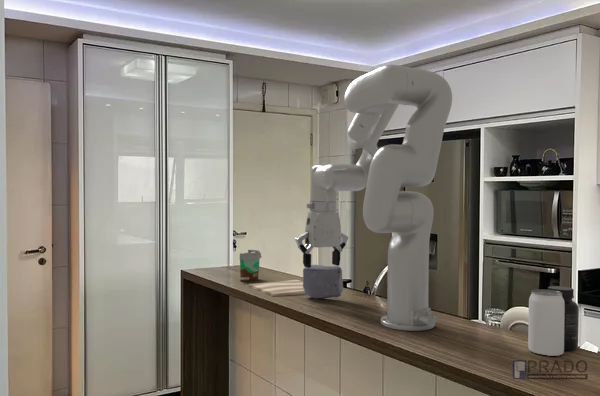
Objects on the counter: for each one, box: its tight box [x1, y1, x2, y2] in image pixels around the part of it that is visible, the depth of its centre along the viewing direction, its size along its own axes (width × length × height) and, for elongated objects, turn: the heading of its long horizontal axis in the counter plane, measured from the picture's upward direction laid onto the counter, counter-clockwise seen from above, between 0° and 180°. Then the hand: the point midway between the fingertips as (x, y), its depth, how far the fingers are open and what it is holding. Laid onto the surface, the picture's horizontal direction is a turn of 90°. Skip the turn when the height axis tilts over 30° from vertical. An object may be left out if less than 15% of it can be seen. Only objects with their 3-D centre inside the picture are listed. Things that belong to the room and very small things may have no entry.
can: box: [527, 289, 565, 357], centre depth 106 cm, size 6×6×12 cm
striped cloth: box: [248, 279, 306, 298], centre depth 169 cm, size 18×18×1 cm
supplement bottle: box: [547, 285, 580, 351], centre depth 110 cm, size 7×7×12 cm
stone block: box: [302, 264, 344, 300], centre depth 154 cm, size 12×5×10 cm, turn 62°
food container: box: [239, 249, 262, 282], centre depth 187 cm, size 12×6×10 cm, turn 171°
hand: (321, 266), depth 155 cm, fingers open, 9 cm apart
